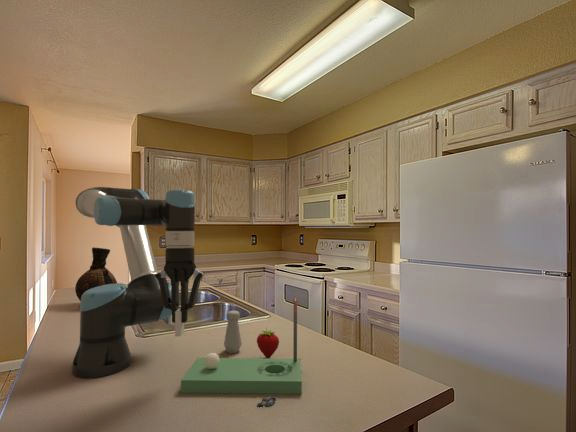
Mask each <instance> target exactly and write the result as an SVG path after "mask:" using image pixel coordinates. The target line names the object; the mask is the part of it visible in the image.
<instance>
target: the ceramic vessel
mask: <svg viewBox="0 0 576 432" xmlns="http://www.w3.org/2000/svg"><path fill="white" fill-rule="evenodd" d="M91 252H92V262H91V265H90V266H89V269H88V270H86V271H85V272H84V273H83V274H82V275H81V276H80V277H78V279H77V281H76V283H75V289H74V290H75V295H76V297H77V299H78V300H79V302H81V297H82V295H83V293H84V292H86V291H87V290H89V289H92V288H95V287H98V286H102V285H107V284H116V283H118V281H117V279H116V276H114V274H113V273H112V272H111V271H110V270H109V269H108V268H106V266H107V258H108V256H109V254H110V252H111V249H109V248H102V247H94V246H93V247H92V248H91Z"/></svg>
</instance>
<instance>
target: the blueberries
mask: <svg viewBox="0 0 576 432" xmlns="http://www.w3.org/2000/svg"><path fill="white" fill-rule="evenodd" d="M256 398H257V399H259V397H256ZM261 398H262V399H261V402H258V403H257V404H256V407H257V408H258V407H259V409H262V408H264V409H266V408H271V407H273V406H275V403H276V401H277V399H276V397H275V396H274V395H272V396H267V397H261ZM260 407H262V408H260Z"/></svg>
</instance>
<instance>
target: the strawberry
mask: <svg viewBox="0 0 576 432" xmlns="http://www.w3.org/2000/svg"><path fill="white" fill-rule="evenodd" d="M279 343H280V340H279V337H278V336H277V334H276V333H275V331H272V330H271V329H270V330H268V331H267V328H266V331H265V330H262V331H261V333H259V334H258V336H257V337H256V344H257V347H258V349H259V350H260V352H261V353H262V354H263V355H264V357H265V358H272V356H273V355H274V353H275V352H276V351H277V349H278V348H279Z"/></svg>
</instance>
